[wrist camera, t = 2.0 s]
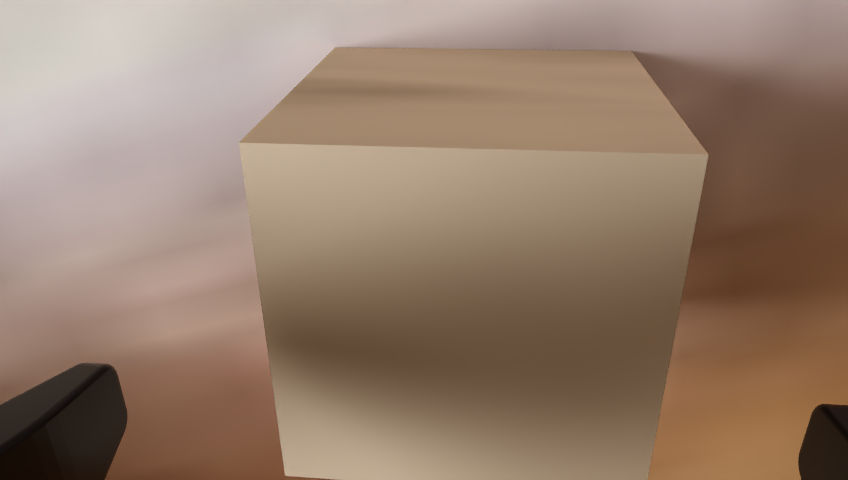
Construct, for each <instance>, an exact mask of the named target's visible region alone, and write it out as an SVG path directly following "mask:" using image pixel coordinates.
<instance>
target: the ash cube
mask: <svg viewBox="0 0 848 480" xmlns="http://www.w3.org/2000/svg"><path fill="white" fill-rule="evenodd" d="M239 147H240V154H241V162H242V169H243V176H244V183H245V190H246V198H247V205H248V212H249V219H250V226H251V234H252V241H253V248H254V255H255V262H256V270H257V277H258V284H259V291H260V298H261V306H262V313H263V320H264V327H265V334H266V342H267V349H268V356H269V363H270V370H271V378H272V385H273V392H274V399H275V406H276V414H277V421H278V428H279V435H280V443H281V450H282V457H283V464H284V471H285V476H295V477H309V478H323V479H336V480H648V474H649V469H650V464H651V458H652V453H653V448H654V442H655V437H656V432H657V426H658V421H659V416H660V410H661V405H662V400H663V395H664V389H665V384H666V379H667V373H668V368H669V363H670V357H671V352H672V347H673V341H674V336H675V331H676V325H677V320H678V315H679V309H680V304H681V299H682V294H683V288H684V283H685V278H686V272H687V267H688V262H689V256H690V251H691V246H692V240H693V235H694V230H695V224H696V219H697V214H698V208H699V203H700V198H701V193H702V187H703V182H704V177H705V171H706V166H707V161H708V153H707V152H706V150H705V149H704V148H703V146H702V145H701V144H700V142H699V141H698V140H697V138H696V137H695V136H694V134H693V133H692V132H691V130H690V129H689V128H688V126H687V125H686V124H685V122H684V121H683V120H682V118H681V117H680V116H679V114H678V113H677V112H676V110H675V109H674V108H673V106H672V105H671V103H670V102H669V101H668V99H667V98H666V97H665V95H664V94H663V93H662V91H661V90H660V89H659V87H658V86H657V85H656V83H655V82H654V81H653V79H652V78H651V77H650V75H649V74H648V73H647V71H646V70H645V69H644V67H643V66H642V65H641V63H640V62H639V61H638V59H637V58H636V56H635V55H634V54H633V52H632V51H595V50H508V49H421V48H334V49H333V50H332V51H331V52H330V53H329V54H328V55H327V56H326V57H325V58H324V59H323V60H322V61H321V62H320V63H319V64H318V65H317V66H316V67H315V68H314V69H313V70H312V71H311V72H310V73H309V74H308V75H307V76H306V77H305V78H304V79H303V80H302V81H301V82H300V83H299V84H298V85H297V86H296V87H295V88H294V89H293V90H292V91H291V92H290V93H289V94H288V95H287V96H286V97H285V98H284V99H283V100H282V101H281V102H280V103H279V104H278V105H277V106H276V107H275V108H274V109H273V110H272V111H271V112H269V113H268V114H267V115H266V116H265V117H264V118H263V119H262V120H261V121H260V122H259V123H258V124H257V125H256V126H255V127H254V128H253V129H252V130H251V131H250V132H249V133H248V134H247V135H246V136H245V137H244V138H243V139H242V140H241V141H240V142H239Z"/></svg>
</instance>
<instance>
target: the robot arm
mask: <svg viewBox="0 0 848 480" xmlns="http://www.w3.org/2000/svg"><path fill="white" fill-rule="evenodd" d="M126 425H127V409H126V405H125V401H124V397H123V394H122V390H121V386H120V382H119V378H118V375H117V372H116V370H115V369H114V367H113V366H111V365H109V364H98V363H81V364H78V365H76V366H74V367H72V368H70V369H68V370H66V371H64V372H62V373H61V374H59V375H57V376H55V377H53V378H51V379H49V380H47V381H45V382H43V383H41V384H39V385H37V386H36V387H34V388H32V389H30V390H28V391H26V392H24V393H22V394H20V395H18V396H16V397H14V398H12V399H10V400H9V401H7V402H5V403H3V404H1V405H0V480H105V477H106V475H107V473H108V470H109V468H110V465H111V463H112V461H113V458H114V456H115V453H116V451H117V449H118V446H119V444H120V441H121V439H122V436H123V434H124V432H125V429H126ZM798 462H799V472H800V476H801V480H848V405H833V404H821V405H818V406H817V407H816V408H815V409H814V410H813V412H812V415H811V418H810V421H809V424H808V427H807V430H806V433H805V437H804V440H803V443H802V446H801V449H800V453H799V460H798Z"/></svg>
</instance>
